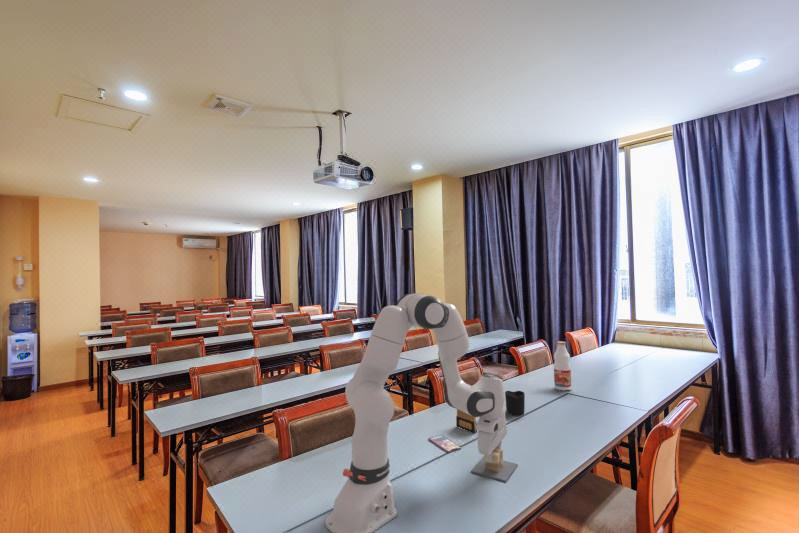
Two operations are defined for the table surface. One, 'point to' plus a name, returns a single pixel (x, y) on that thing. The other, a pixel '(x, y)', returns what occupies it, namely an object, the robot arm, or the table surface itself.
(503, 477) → the mat
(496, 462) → the maple block
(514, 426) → the table surface
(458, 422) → the ammunition clip
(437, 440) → the smartphone
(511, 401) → the pen holder
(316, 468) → the table surface
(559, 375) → the fruit juice
